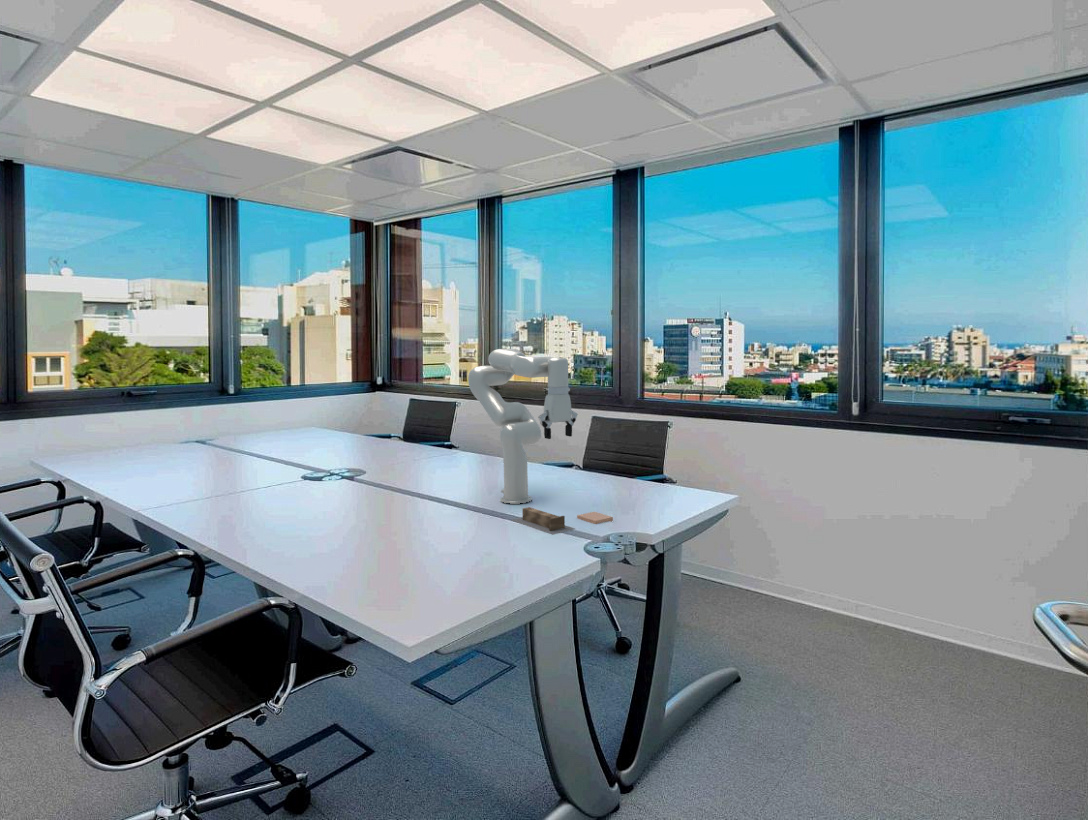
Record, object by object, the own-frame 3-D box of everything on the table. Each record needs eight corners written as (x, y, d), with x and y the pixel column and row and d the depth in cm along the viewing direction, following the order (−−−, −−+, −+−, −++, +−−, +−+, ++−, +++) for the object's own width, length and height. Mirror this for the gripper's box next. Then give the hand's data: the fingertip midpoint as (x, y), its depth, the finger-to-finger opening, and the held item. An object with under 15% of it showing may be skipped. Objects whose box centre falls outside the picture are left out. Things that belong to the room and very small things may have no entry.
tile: (577, 515, 231) (595, 520, 223) (594, 511, 236) (612, 516, 227) (577, 521, 231) (595, 526, 223) (594, 517, 236) (612, 522, 228)
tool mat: (510, 521, 230) (510, 519, 230) (533, 516, 236) (533, 515, 236) (552, 536, 211) (552, 534, 211) (576, 530, 217) (576, 528, 217)
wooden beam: (519, 520, 230) (518, 509, 229) (532, 517, 233) (532, 506, 233) (550, 531, 215) (550, 519, 215) (564, 527, 219) (564, 516, 219)
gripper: (570, 389, 248) (570, 434, 250) (532, 392, 238) (533, 438, 240) (582, 390, 242) (582, 436, 244) (544, 393, 232) (545, 440, 234)
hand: (558, 437), depth 242 cm, fingers open, 9 cm apart
